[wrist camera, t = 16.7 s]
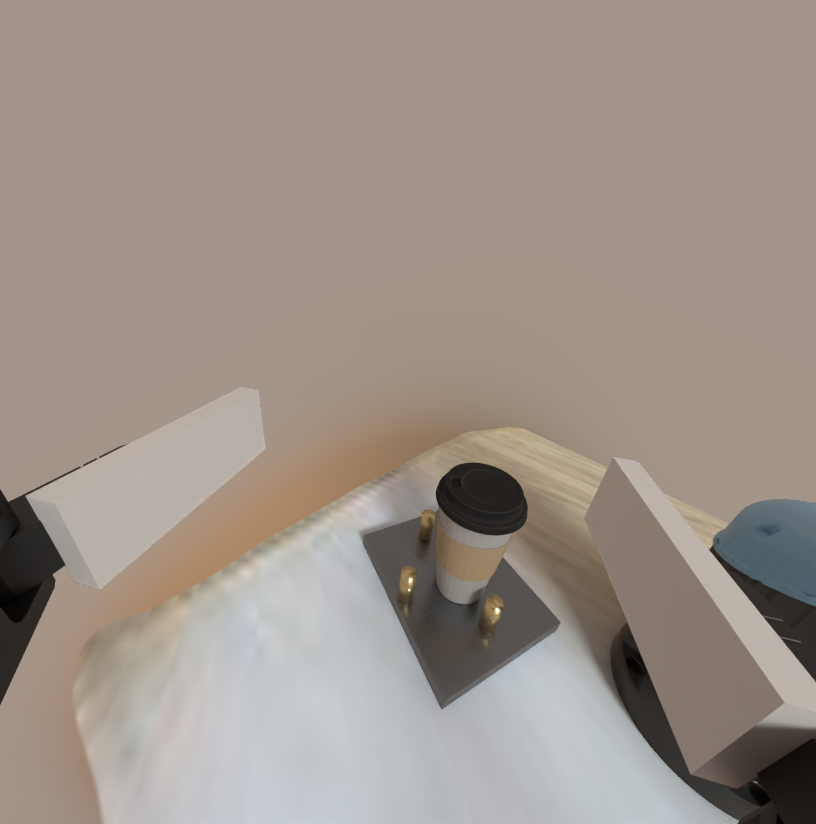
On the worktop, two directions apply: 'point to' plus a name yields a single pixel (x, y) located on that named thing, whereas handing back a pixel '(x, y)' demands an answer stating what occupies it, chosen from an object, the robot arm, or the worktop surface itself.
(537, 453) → the worktop surface
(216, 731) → the worktop surface
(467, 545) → the coffee cup
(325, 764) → the worktop surface
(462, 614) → the pin plate
